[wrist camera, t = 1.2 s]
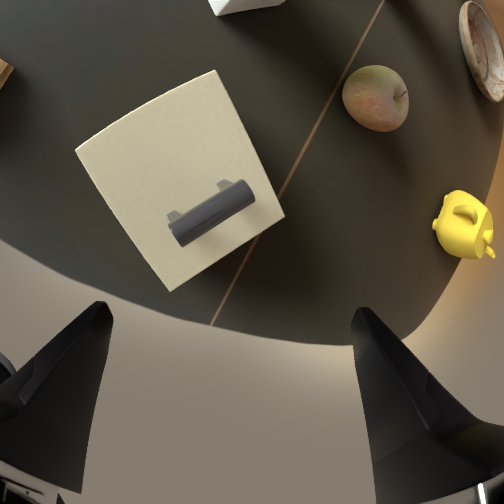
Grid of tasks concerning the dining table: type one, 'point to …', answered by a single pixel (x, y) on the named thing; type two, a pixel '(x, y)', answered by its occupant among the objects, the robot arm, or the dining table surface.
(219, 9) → the milk carton
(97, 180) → the lid
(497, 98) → the ceramic bowl
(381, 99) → the fruit
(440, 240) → the teapot
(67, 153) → the dining table surface
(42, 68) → the dining table surface
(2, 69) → the switch base
